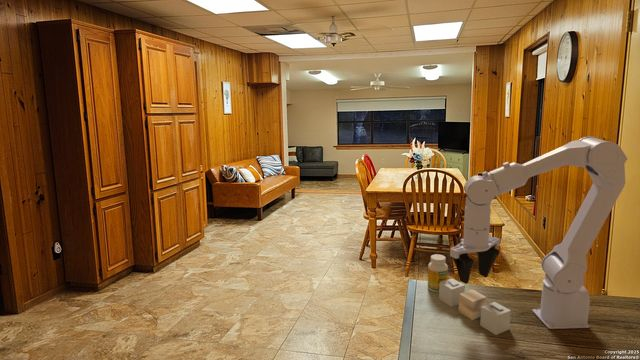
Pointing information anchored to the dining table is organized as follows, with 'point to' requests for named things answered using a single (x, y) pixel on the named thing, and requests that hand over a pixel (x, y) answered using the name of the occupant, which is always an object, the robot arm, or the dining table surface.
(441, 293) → the marked block 7
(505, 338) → the dining table surface
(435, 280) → the supplement bottle
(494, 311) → the marked block 1
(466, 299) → the plain block
